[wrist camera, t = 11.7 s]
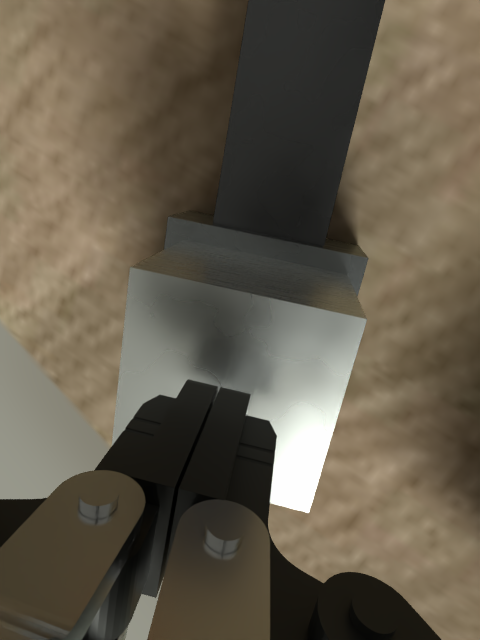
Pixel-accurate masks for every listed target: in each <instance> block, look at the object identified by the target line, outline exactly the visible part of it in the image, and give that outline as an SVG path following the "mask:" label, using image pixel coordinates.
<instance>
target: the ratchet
mask: <svg viewBox="0 0 480 640" xmlns="http://www.w3.org/2000/svg"><path fill="white" fill-rule="evenodd" d="M384 3H385V0H249V1H248V8H247V14H246V20H245V26H244V33H243V39H242V45H241V51H240V57H239V64H238V70H237V76H236V82H235V89H234V95H233V101H232V107H231V113H230V120H229V126H228V132H227V138H226V145H225V151H224V157H223V163H222V170H221V176H220V182H219V188H218V194H217V201H216V207H215V213H214V215H209V214H204V213H199V212H194V211H186V212H183V213H179V214H176V215H172V216H168V222H167V230H166V238H165V246H164V250H165V249H167V248H169V247H171V246H173V245H175V244H177V243H179V242H181V241H183V240H187V241H192V242H197V243H202V244H206V245H211V246H216V247H220V248H225V249H230V250H234V251H239V252H244V253H249V254H253V255H258V256H263V257H267V258H272V259H277V260H282V261H286V262H291V263H296V264H300V265H305V266H310V267H315V268H319V269H324V270H329V271H333V272H338V273H343V274H347V275H348V277H349V279H350V281H351V284H352V286H353V288H354V291H355V293H356V295H357V296H358V293H359V289H360V286H361V282H362V279H363V275H364V272H365V268H366V265H367V261H368V257H367V256H366V254H365V253H364V252H363V251H362V249H361V248H360V247H359V246H358V245H355V244H350V243H345V242H340V241H335V240H330V239H326V236H327V232H328V228H329V223H330V219H331V215H332V211H333V207H334V203H335V199H336V195H337V191H338V187H339V183H340V179H341V175H342V171H343V167H344V163H345V159H346V155H347V151H348V147H349V143H350V139H351V135H352V131H353V127H354V123H355V119H356V115H357V111H358V107H359V103H360V99H361V95H362V91H363V87H364V83H365V79H366V75H367V71H368V67H369V63H370V59H371V55H372V51H373V47H374V43H375V39H376V35H377V31H378V27H379V23H380V19H381V15H382V11H383V7H384Z"/></svg>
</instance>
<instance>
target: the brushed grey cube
mask: <svg viewBox="0 0 480 640" xmlns="http://www.w3.org/2000/svg"><path fill="white" fill-rule="evenodd" d="M366 321H367V318H366V316H365V313H364V311H363V309H362V307H361V304H360V302H359V300H358V297H357V295H356V293H355V291H354V288H353V286H352V284H351V281H350V279H349V277H348V275H347V274H343V273H338V272H333V271H329V270H324V269H319V268H315V267H310V266H305V265H300V264H296V263H291V262H286V261H282V260H277V259H272V258H267V257H263V256H258V255H253V254H249V253H244V252H239V251H234V250H230V249H225V248H220V247H216V246H211V245H206V244H202V243H197V242H192V241H187V240H183V241H181V242H179V243H177V244H175V245H173V246H171V247H169V248H167V249H165V250H163V251H161V252H159V253H157V254H155V255H153V256H151V257H149V258H147V259H145V260H143V261H141V262H139V263H137V264H135V265H133V266H131V267H130V273H129V283H128V293H127V302H126V312H125V322H124V332H123V341H122V351H121V361H120V371H119V381H118V390H117V400H116V410H115V420H114V430H113V439H112V445H113V444H114V443H115V441H116V440H117V439H118V437H119V436H120V434H121V433H122V432H123V431H125V428H126V426H127V425H128V424H129V422H130V421H131V419H133V417H134V415H135V414H136V413H137V411H138V410H139V408H140V407H141V406H142V404H143V403H145V402H147V401H149V400H151V399H152V398H154V397H156V396H158V395H164V396H168V397H172V398H177V396H178V394H179V392H180V391H181V389H182V387H183V386H184V384H185V382H186V381H187V380H188V379H189V380H193V381H198V382H202V383H206V384H210V385H215V386H218V392H219V389H220V387H223V388H228V389H232V390H236V391H240V392H245V393H249V394H251V397H250V402H249V407H248V411H247V415H248V416H252V417H256V418H260V419H264V420H269V421H270V423H271V425H272V427H273V429H274V431H275V433H276V435H277V439H276V449H275V458H274V466H273V477H272V486H271V496H270V503H273V504H276V505H280V506H284V507H288V508H292V509H296V510H300V511H304V512H308V513H309V510H310V507H311V504H312V500H313V497H314V494H315V490H316V487H317V484H318V480H319V477H320V474H321V470H322V467H323V464H324V460H325V457H326V454H327V450H328V447H329V444H330V440H331V437H332V434H333V431H334V427H335V424H336V421H337V417H338V414H339V411H340V407H341V404H342V401H343V397H344V394H345V391H346V387H347V384H348V381H349V377H350V374H351V371H352V367H353V364H354V361H355V357H356V354H357V351H358V348H359V344H360V341H361V338H362V334H363V331H364V328H365V324H366Z"/></svg>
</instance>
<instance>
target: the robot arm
mask: <svg viewBox="0 0 480 640" xmlns="http://www.w3.org/2000/svg"><path fill="white" fill-rule="evenodd" d="M250 397H251V394H249V393H245V392H240V391H236V390H232V389H228V388H223V387H220V389H219V392H218V386H215V385H210V384H206V383H202V382H198V381H193V380H189V379H188V380H187V381H186V382H185V384H184V386H183V387H182V389H181V391H180V392H179V394H178V396H177V398H172V397H168V396H164V395H158V396H156V397H154V398H152V399H151V400H149V401H147V402H145V403H143V404H142V406H141V407H140V408H139V410H138V411H137V413H136V414H135V415H134V417H133V419H131V421H130V422H129V424H128V425H127V426H126V428H125V431H123V432H122V433H121V434H120V436H119V437H118V439H117V440H116V441H115V443H114V444H113V445H112V447H111V448H110V450H109V451H108V452H107V454H106V455H105V456H104V458H103V459H102V461H101V462H100V463H99V465H98V466H97V467H96V469H95V470H94V471H88V472H84V473H81V474H78V475H75V476H73V477H71V478H69V479H67V480H66V481H64V482H63V483H62V484H60V485H59V486H58V487H57V488H56V489H55V490H54V491H53V492H52V493H51V495H50V496H49V497H48V498H43V499H14V500H13V499H6V500H5V499H3V500H2V499H0V640H125V638H126V633H127V628H128V625H129V623H130V621H131V619H132V616H133V614H134V611H135V609H136V606H137V604H138V601H139V598H140V596H141V594H144V595H148V596H152V597H155V598H156V597H157V594H158V591H159V588H160V585H161V582H162V580H163V582H162V586H161V590H160V593H159V597H158V601H157V605H156V609H155V612H154V616H153V620H152V624H151V627H150V631H149V635H148V639H147V640H441V639H440V638H439V636H438V635H437V634H436V633H435V632H434V631H433V630H432V629H431V628H430V626H429V625H428V624H427V623H426V622H425V621H424V620H423V619H422V618H421V616H420V615H419V614H418V613H417V612H416V611H415V610H414V609H413V608H412V607H411V605H410V604H409V603H408V602H407V601H406V600H405V599H404V598H403V597H402V596H401V595H400V594H399V593H398V592H396V591H395V590H394V589H393V588H392V587H390V586H389V585H387V584H385V583H384V582H382V581H380V580H378V579H376V578H374V577H372V576H369V575H366V574H362V573H356V572H345V573H340V574H336V575H334V576H332V577H331V578H329V579H328V580H327V581H326V582H325V583H322V582H320V581H319V580H317V579H315V578H313V577H312V576H310V575H308V574H306V573H305V572H303V571H301V570H300V569H298V568H297V567H295V566H294V565H292V564H291V563H290V562H289V561H288V560H287V559H286V558H285V557H284V556H283V555H282V554H281V553H280V552H279V551H278V549H277V548H276V546H275V545H274V543H273V541H272V539H271V536H270V534H269V529H268V515H269V505H270V496H271V486H272V477H273V466H274V458H275V449H276V439H277V435H276V433H275V431H274V429H273V427H272V425H271V423H270V421H269V420H264V419H260V418H256V417H252V416H248V415H247V411H248V407H249V402H250ZM163 577H164V578H163Z"/></svg>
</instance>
